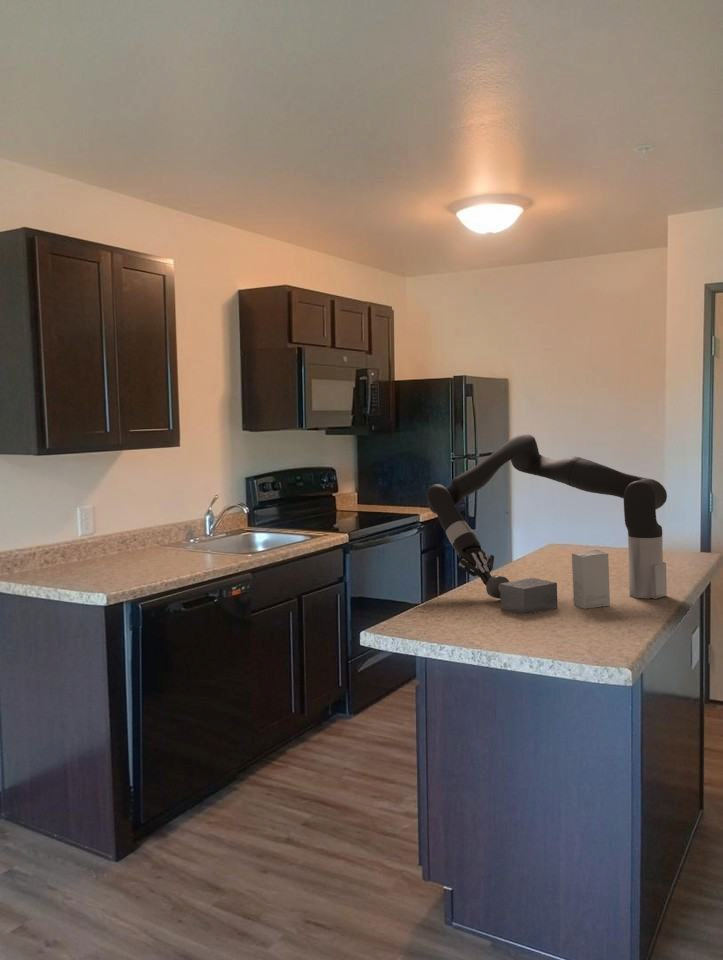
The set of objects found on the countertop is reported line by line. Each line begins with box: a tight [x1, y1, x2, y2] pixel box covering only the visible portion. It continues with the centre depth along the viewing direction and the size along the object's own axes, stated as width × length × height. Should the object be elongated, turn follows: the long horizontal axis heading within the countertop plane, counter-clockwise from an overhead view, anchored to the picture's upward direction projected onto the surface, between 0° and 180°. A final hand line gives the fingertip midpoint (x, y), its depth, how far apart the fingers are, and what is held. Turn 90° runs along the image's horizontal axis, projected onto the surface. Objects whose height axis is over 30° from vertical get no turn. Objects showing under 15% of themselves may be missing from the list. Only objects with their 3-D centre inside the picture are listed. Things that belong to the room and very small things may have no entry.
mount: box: [500, 577, 559, 616], centre depth 215 cm, size 10×12×7 cm
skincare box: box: [571, 549, 611, 610], centre depth 214 cm, size 8×6×15 cm
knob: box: [485, 574, 510, 600], centre depth 222 cm, size 11×6×6 cm, turn 31°
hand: (490, 584), depth 228 cm, fingers closed
